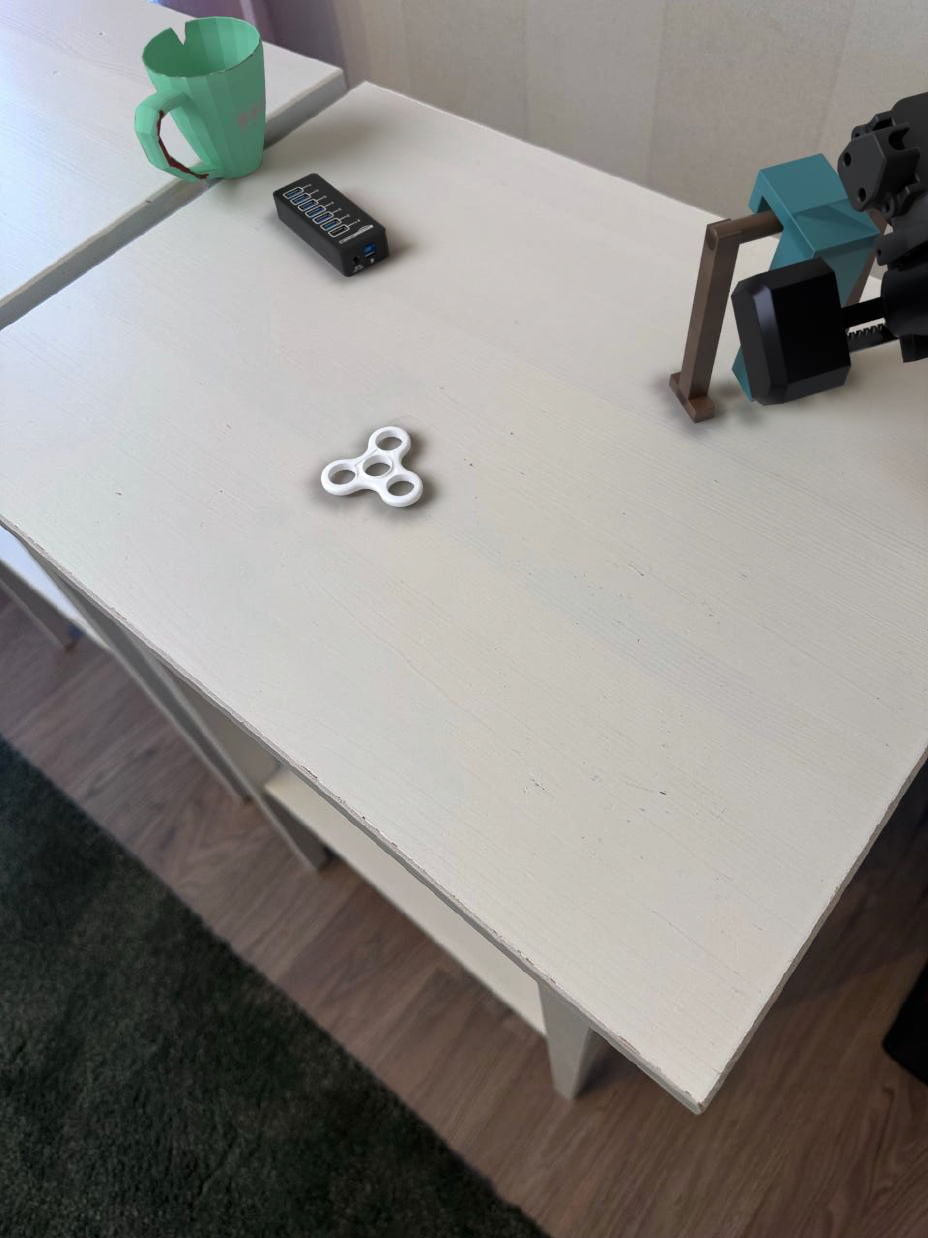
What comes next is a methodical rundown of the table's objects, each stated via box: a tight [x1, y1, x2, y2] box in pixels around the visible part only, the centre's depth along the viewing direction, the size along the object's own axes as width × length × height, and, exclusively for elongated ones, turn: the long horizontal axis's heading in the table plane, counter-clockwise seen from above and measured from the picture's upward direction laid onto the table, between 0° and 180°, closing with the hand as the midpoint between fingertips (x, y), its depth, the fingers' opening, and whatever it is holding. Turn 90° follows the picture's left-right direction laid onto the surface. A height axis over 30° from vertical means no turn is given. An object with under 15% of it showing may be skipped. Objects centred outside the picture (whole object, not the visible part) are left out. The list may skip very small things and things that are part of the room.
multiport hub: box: [272, 172, 390, 277], centre depth 74 cm, size 4×11×2 cm, turn 37°
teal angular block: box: [731, 152, 880, 403], centre depth 56 cm, size 7×4×13 cm, turn 18°
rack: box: [668, 209, 889, 424], centre depth 57 cm, size 4×12×14 cm, turn 108°
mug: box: [133, 15, 267, 184], centre depth 77 cm, size 15×10×10 cm
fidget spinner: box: [320, 425, 424, 508], centre depth 60 cm, size 7×6×1 cm
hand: (827, 319), depth 53 cm, fingers open, 9 cm apart
